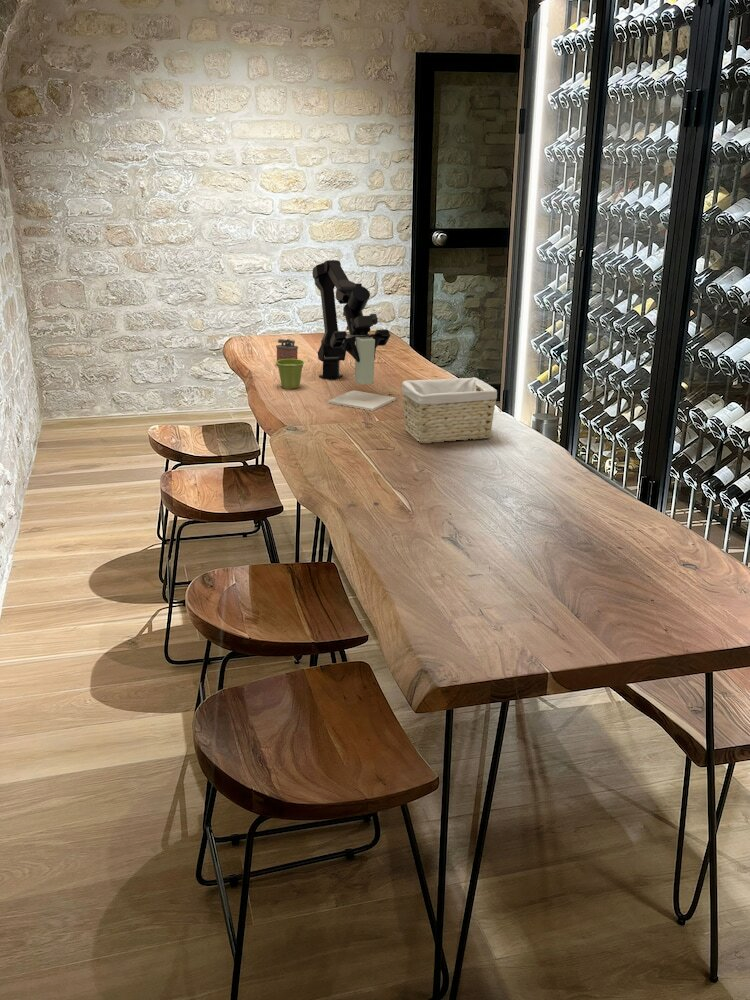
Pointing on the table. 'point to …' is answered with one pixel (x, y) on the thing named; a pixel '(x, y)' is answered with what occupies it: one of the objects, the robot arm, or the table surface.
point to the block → (365, 360)
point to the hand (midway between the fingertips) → (366, 361)
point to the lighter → (286, 349)
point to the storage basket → (448, 409)
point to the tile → (362, 400)
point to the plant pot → (290, 372)
